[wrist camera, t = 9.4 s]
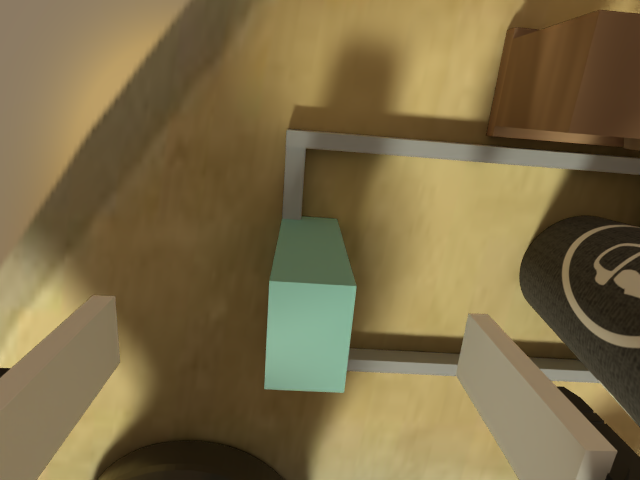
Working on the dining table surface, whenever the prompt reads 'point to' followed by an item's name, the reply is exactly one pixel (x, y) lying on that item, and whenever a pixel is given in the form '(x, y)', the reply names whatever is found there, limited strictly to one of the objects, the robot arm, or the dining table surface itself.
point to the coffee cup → (591, 298)
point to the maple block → (632, 144)
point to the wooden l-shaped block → (571, 81)
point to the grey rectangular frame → (338, 280)
